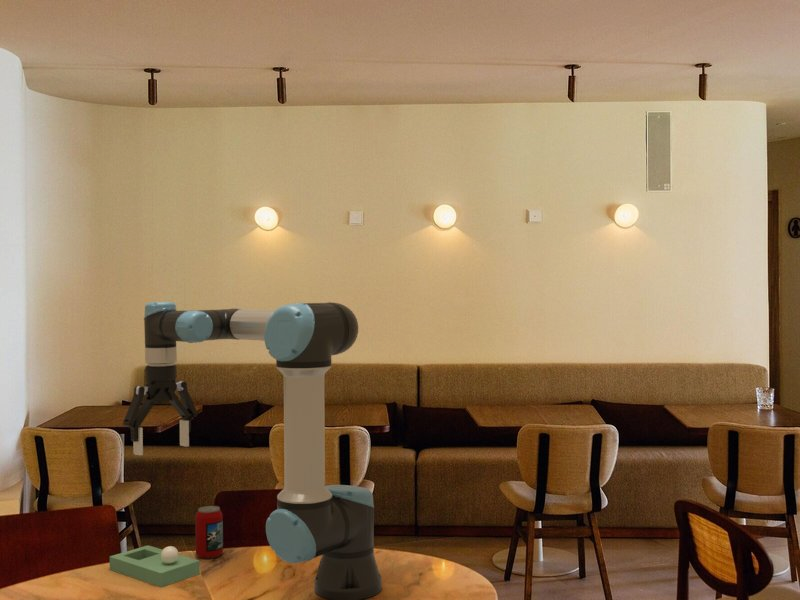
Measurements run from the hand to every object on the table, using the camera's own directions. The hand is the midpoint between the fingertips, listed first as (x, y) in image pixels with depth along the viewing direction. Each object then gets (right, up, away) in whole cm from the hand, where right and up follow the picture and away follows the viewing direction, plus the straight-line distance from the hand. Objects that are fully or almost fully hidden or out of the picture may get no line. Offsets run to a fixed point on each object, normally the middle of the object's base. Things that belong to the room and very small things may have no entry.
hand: (161, 450), depth 210 cm
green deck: (0, -28, -6) cm, 29 cm away
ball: (+5, -23, -10) cm, 25 cm away
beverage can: (+10, -28, +6) cm, 30 cm away
